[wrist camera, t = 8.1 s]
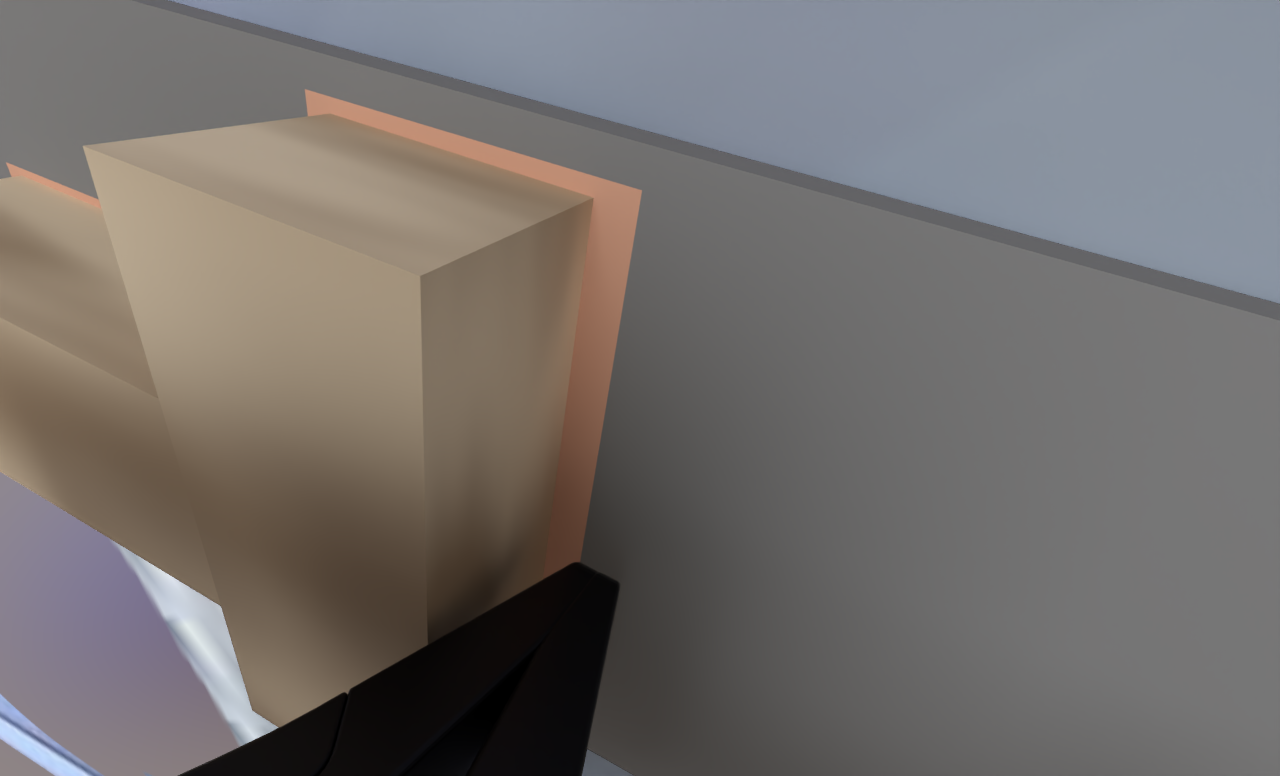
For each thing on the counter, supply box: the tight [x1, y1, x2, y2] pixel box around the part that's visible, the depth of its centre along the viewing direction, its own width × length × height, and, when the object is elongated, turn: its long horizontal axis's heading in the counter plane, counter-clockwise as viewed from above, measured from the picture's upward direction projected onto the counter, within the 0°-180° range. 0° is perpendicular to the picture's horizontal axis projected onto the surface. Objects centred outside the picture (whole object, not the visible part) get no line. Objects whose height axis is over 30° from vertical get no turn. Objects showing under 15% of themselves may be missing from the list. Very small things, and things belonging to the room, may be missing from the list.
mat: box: [0, 0, 1280, 776], centre depth 10 cm, size 12×26×1 cm, turn 80°
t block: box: [0, 114, 594, 727], centre depth 11 cm, size 10×12×3 cm
